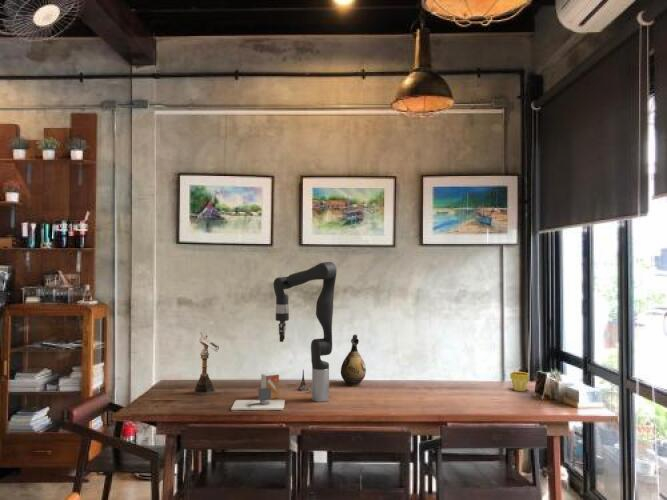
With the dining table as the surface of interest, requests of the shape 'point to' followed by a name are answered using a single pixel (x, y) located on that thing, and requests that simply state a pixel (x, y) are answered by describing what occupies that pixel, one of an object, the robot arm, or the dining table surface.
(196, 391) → the pedestal telescope
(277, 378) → the small box
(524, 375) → the plant pot
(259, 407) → the gauge board
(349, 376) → the ceramic jug
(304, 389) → the eiffel tower figurine
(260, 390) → the tuning knob
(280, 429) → the dining table surface
